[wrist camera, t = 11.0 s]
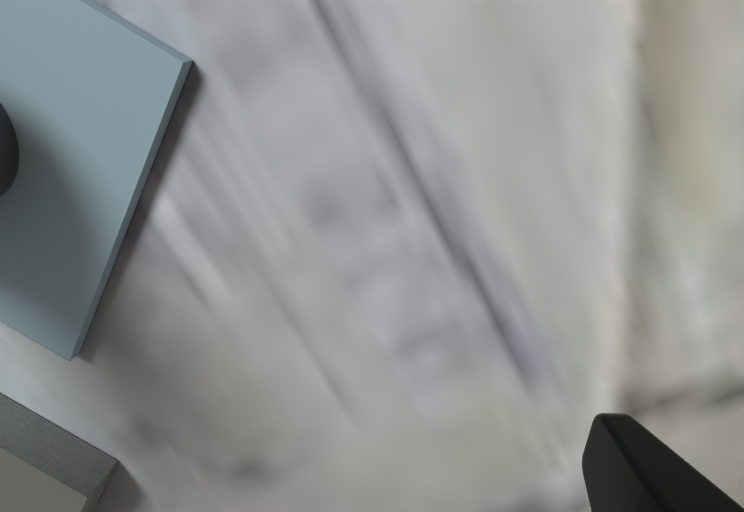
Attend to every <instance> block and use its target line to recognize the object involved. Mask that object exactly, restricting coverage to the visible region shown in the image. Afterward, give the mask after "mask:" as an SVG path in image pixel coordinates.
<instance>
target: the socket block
mask: <svg viewBox="0 0 744 512" xmlns="http://www.w3.org/2000/svg"><path fill="white" fill-rule="evenodd" d="M117 462H118V461H117V460H116V459H114V458H112V457H110V456H109V455H107V454H105V453H103V452H102V451H100V450H98V449H96V448H95V447H93V446H91V445H89V444H88V443H86V442H84V441H82V440H81V439H79V438H77V437H75V436H74V435H72V434H70V433H68V432H67V431H65V430H63V429H62V428H60V427H58V426H56V425H55V424H53V423H51V422H49V421H48V420H46V419H44V418H42V417H41V416H39V415H37V414H35V413H34V412H32V411H30V410H28V409H27V408H25V407H23V406H21V405H20V404H18V403H16V402H14V401H13V400H11V399H9V398H7V397H6V396H4V395H2V394H0V512H94V510H95V508H96V506H97V504H98V501H99V499H100V497H101V495H102V493H103V491H104V489H105V487H106V485H107V483H108V480H109V478H110V476H111V474H112V472H113V470H114V468H115V466H116V464H117Z"/></svg>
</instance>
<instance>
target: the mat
mask: <svg viewBox="0 0 744 512" xmlns="http://www.w3.org/2000/svg"><path fill="white" fill-rule="evenodd" d="M192 61H193V60H192V59H190V58H188V57H187V56H185V55H183V54H182V53H180V52H178V51H177V50H175V49H173V48H172V47H170V46H168V45H167V44H165V43H163V42H162V41H160V40H158V39H157V38H155V37H153V36H152V35H150V34H148V33H147V32H145V31H143V30H142V29H140V28H138V27H137V26H135V25H133V24H132V23H130V22H128V21H127V20H125V19H123V18H122V17H120V16H118V15H117V14H115V13H113V12H112V11H110V10H108V9H107V8H105V7H103V6H102V5H100V4H98V3H97V2H95V1H93V0H0V103H1V105H2V106H3V108H4V109H5V111H6V113H7V114H8V116H9V118H10V120H11V123H12V125H13V127H14V130H15V134H16V137H17V142H18V147H19V166H18V171H17V174H16V177H15V180H14V182H13V183H12V185H11V187H10V188H9V189H8V190H7V192H6V193H4V194H3V195H2V196H1V197H0V322H2V323H4V324H5V325H7V326H9V327H11V328H12V329H14V330H16V331H18V332H19V333H21V334H23V335H24V336H26V337H28V338H30V339H31V340H33V341H35V342H37V343H38V344H40V345H42V346H44V347H45V348H47V349H49V350H50V351H52V352H54V353H56V354H57V355H59V356H61V357H63V358H64V359H66V360H68V361H70V360H71V359H73V358H74V357H75V356H76V355H77V354H79V353H80V350H81V348H82V345H83V342H84V340H85V337H86V335H87V332H88V330H89V327H90V324H91V322H92V319H93V317H94V314H95V311H96V309H97V306H98V304H99V301H100V299H101V296H102V293H103V291H104V288H105V286H106V283H107V281H108V278H109V275H110V273H111V270H112V268H113V265H114V263H115V260H116V257H117V255H118V252H119V250H120V247H121V244H122V242H123V239H124V237H125V234H126V232H127V229H128V226H129V224H130V221H131V219H132V216H133V214H134V211H135V208H136V206H137V203H138V201H139V198H140V195H141V193H142V190H143V188H144V185H145V183H146V180H147V177H148V175H149V172H150V170H151V167H152V165H153V162H154V159H155V157H156V154H157V152H158V149H159V147H160V144H161V141H162V139H163V136H164V134H165V131H166V128H167V126H168V123H169V121H170V118H171V116H172V113H173V110H174V108H175V105H176V103H177V100H178V98H179V95H180V92H181V90H182V87H183V85H184V82H185V79H186V77H187V74H188V72H189V69H190V67H191V64H192Z"/></svg>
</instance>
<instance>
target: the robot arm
mask: <svg viewBox="0 0 744 512" xmlns="http://www.w3.org/2000/svg"><path fill="white" fill-rule="evenodd" d="M582 469H583V475H584V480H585V484H586V489H587V493H588V498H589V502H590V506H591V511H592V512H744V508H742V507H741V506H740V505H739V504H738V503H736V502H735V501H734V500H733V499H731V498H730V497H729V496H728V495H727V494H725V493H724V492H723V491H722V490H720V489H719V488H718V487H717V486H716V485H714V484H713V483H712V482H711V481H709V480H708V479H707V478H706V477H705V476H703V475H702V474H701V473H700V472H698V471H697V470H696V469H695V468H694V467H692V466H691V465H690V464H689V463H687V462H686V461H685V460H684V459H683V458H681V457H680V456H679V455H678V454H676V453H675V452H674V451H673V450H672V449H670V448H669V447H668V446H667V445H665V444H664V443H663V442H662V441H661V440H659V439H658V438H657V437H656V436H654V435H653V434H652V433H651V432H650V431H648V430H647V429H646V428H645V427H643V426H642V425H641V424H640V423H639V422H637V421H636V420H635V419H634V418H632V417H631V416H629V415H627V414H621V413H601V414H598V415H596V417H595V418H594V420H593V423H592V426H591V429H590V433H589V436H588V439H587V443H586V446H585V449H584V453H583V458H582Z"/></svg>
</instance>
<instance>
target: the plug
mask: <svg viewBox="0 0 744 512" xmlns="http://www.w3.org/2000/svg"><path fill="white" fill-rule="evenodd" d="M18 166H19V147H18V142H17V137H16V134H15V130H14V127H13V125H12V123H11V120H10V118H9V116H8V114H7V113H6V111H5V109H4V108H3V106H2V105H1V103H0V197H1V196H2V195H3V194H4V193H6V192H7V190H8V189H9V188H10V187H11V185H12V183H13V182H14V180H15V177H16V174H17V171H18Z"/></svg>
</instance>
